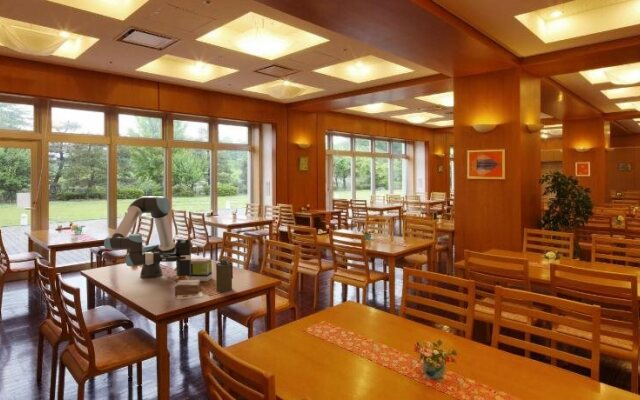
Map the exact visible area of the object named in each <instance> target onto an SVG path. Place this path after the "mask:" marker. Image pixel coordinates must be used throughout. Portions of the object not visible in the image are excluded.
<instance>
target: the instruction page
mask: <svg viewBox="0 0 640 400" xmlns="http://www.w3.org/2000/svg"><path fill="white" fill-rule="evenodd" d="M202 297H203V292H202V291H199V293H198V294H194V295H177V296H176V299H177V300H181V299H191V298H193V299H194V298H202Z"/></svg>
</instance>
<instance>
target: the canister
mask: <svg viewBox="0 0 640 400" xmlns="http://www.w3.org/2000/svg"><path fill="white" fill-rule="evenodd" d="M215 267H216V270H215V271H216V272H215V273H216V275H215V276H216V278H215V279H216V281H215V282H216V292H218V293H226V292H227V293H228V292H230V291H232V290H233V279H234V276H233V274H234V272H233V270H234V269H233V268H234V267H233V262H232V261H228V260H227V259H224V258H223V259H219V262H216V263H215Z"/></svg>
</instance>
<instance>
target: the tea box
mask: <svg viewBox="0 0 640 400" xmlns="http://www.w3.org/2000/svg"><path fill="white" fill-rule="evenodd" d="M212 261H213V260H212V258H192V257H191V274H190V275H188V276H186V280H198V279H200V282H208V281H210V280H211V279H212V278H213V266H212V265H213V264H212Z"/></svg>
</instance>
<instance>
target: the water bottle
mask: <svg viewBox="0 0 640 400" xmlns="http://www.w3.org/2000/svg"><path fill="white" fill-rule="evenodd" d="M192 247H193V245H192V242H191V239H189V238H187V239H185V238H177V239H176V242H175V249H176V256H184V255H191V256H192ZM175 264H176V276H178V277H187V276H188V275H190V274H191V260H180V262H179V261H176V262H175Z"/></svg>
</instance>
